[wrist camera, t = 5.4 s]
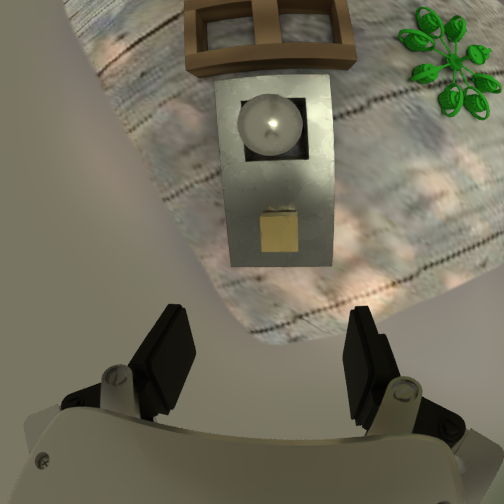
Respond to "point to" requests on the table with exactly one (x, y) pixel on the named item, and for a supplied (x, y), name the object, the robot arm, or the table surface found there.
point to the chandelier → (451, 63)
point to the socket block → (278, 173)
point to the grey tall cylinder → (269, 124)
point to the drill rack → (265, 37)
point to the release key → (279, 231)
